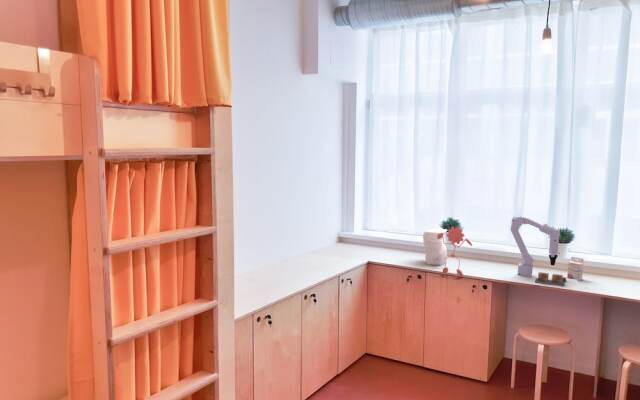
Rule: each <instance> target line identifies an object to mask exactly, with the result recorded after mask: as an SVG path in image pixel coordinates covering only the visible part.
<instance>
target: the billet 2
mask: <svg viewBox="0 0 640 400" xmlns="http://www.w3.org/2000/svg"><path fill="white" fill-rule="evenodd" d="M563 277H564V275H563V274H558V273H552V274H551V280H552V283H559V284H562V280H563Z"/></svg>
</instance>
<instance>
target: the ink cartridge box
mask: <svg viewBox="0 0 640 400" xmlns="http://www.w3.org/2000/svg"><path fill="white" fill-rule="evenodd" d="M583 272H584V258H580V257H575V256H571V257H570V261H568V266H567V277H566V279H570V280H577V281H582V280H583Z"/></svg>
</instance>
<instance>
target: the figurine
mask: <svg viewBox="0 0 640 400" xmlns="http://www.w3.org/2000/svg"><path fill="white" fill-rule="evenodd" d="M447 231H448V233H446V235H445V236H446V238H447V239H448V242H447V243H446V242H445V240H444V239H445V238H444V235H443V233H440V234H438V236H437V238H438V239H440V238H442V241H443V243H444V244H445V245H452V246H453V247H454V249H453V252H452V253H450V256H447V257H446V258H447V259H449V258H450V257H451V258H456V259H457V260H458V261H459V262H458V266H461V265H460V264H461V263H460V262H461V259H459V258H458V257H456V256H455V254H454V253H455V251H456V248H457V247H458V248H460V247H461V246H462V245H463V244H464V243H465V242H466V243H467V244H469V246H471V247H473V244H472V242H471V241H470V240H469V239H468V238H465V239H464V237H465V234H464V232H463V229H461V228H460V227H459V226H457V227H456V226H455V227H454V226H451V228H450V229H447ZM449 242H450V243H449ZM456 244H457V245H456ZM446 258H445V259H446ZM447 259H446V260H447ZM446 264H447V263H446ZM446 264H444V268H442V273H443V277H445V275H446V274H447V273H452V274H453V272H450V271H449V268H448V267H447V265H446ZM463 275H464V274H463V272H462V270H461V269H460V268H457V269H456V278H455V279H458V276H460V277H463ZM464 280H466V278H465V279H464Z"/></svg>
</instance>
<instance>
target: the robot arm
mask: <svg viewBox="0 0 640 400" xmlns="http://www.w3.org/2000/svg"><path fill="white" fill-rule="evenodd" d="M523 225H530V226H532V227H534V228H536V229H538V230H539V232H541V233H543V234H545V235H548V236H549V237H550V238H549V245H548V246H549V248H548V257H549V261H550V265H551V266H555V265H556V260H557V259H558V258H559V257H558V256H559V255H560V254H561V253H560V252H559V246H560V245H559V243H560V240H559V239H560V236H561V232H560V231H559V230H558V229H557V228H555V227H554V226H550V225H548V224H547V223H539V222H537V221H535V220H533V219H531V218H528V217H526V216H523V215H520V214H516V215H514V216H513V217H512V219H511V223H510V232H511V233H512V236H513V238H514V240H515V243H516V245H517V247H518V250H519V252H520V254H521V259H522V262H521V263H518V265H517V266H518V267H517V276H523V277H533V269H534V267H533V265H534V258H533V257H532V255H531V254H529V252H528V250H527V248H526V244H525V243H524V240H523V238H522V236H521V234H520V232H519V229H520V228H521V226H523Z"/></svg>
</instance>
